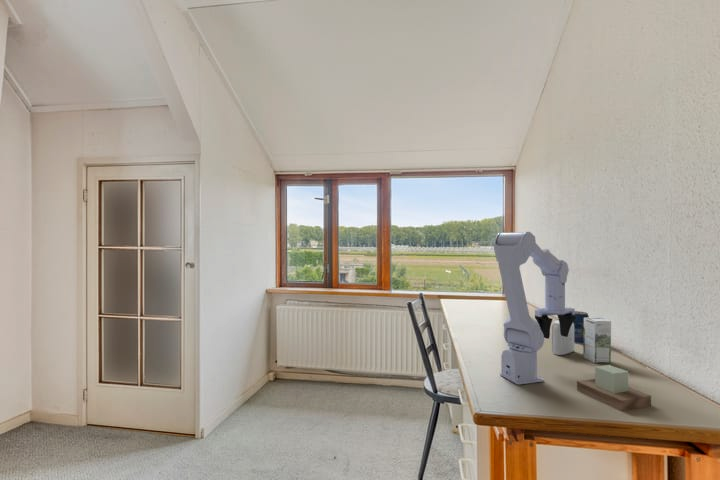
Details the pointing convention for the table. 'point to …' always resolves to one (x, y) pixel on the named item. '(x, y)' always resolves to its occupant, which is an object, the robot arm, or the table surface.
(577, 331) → the soda can
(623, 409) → the walnut block
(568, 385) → the table surface
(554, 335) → the photo printer
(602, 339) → the syrup box
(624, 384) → the sage cube
